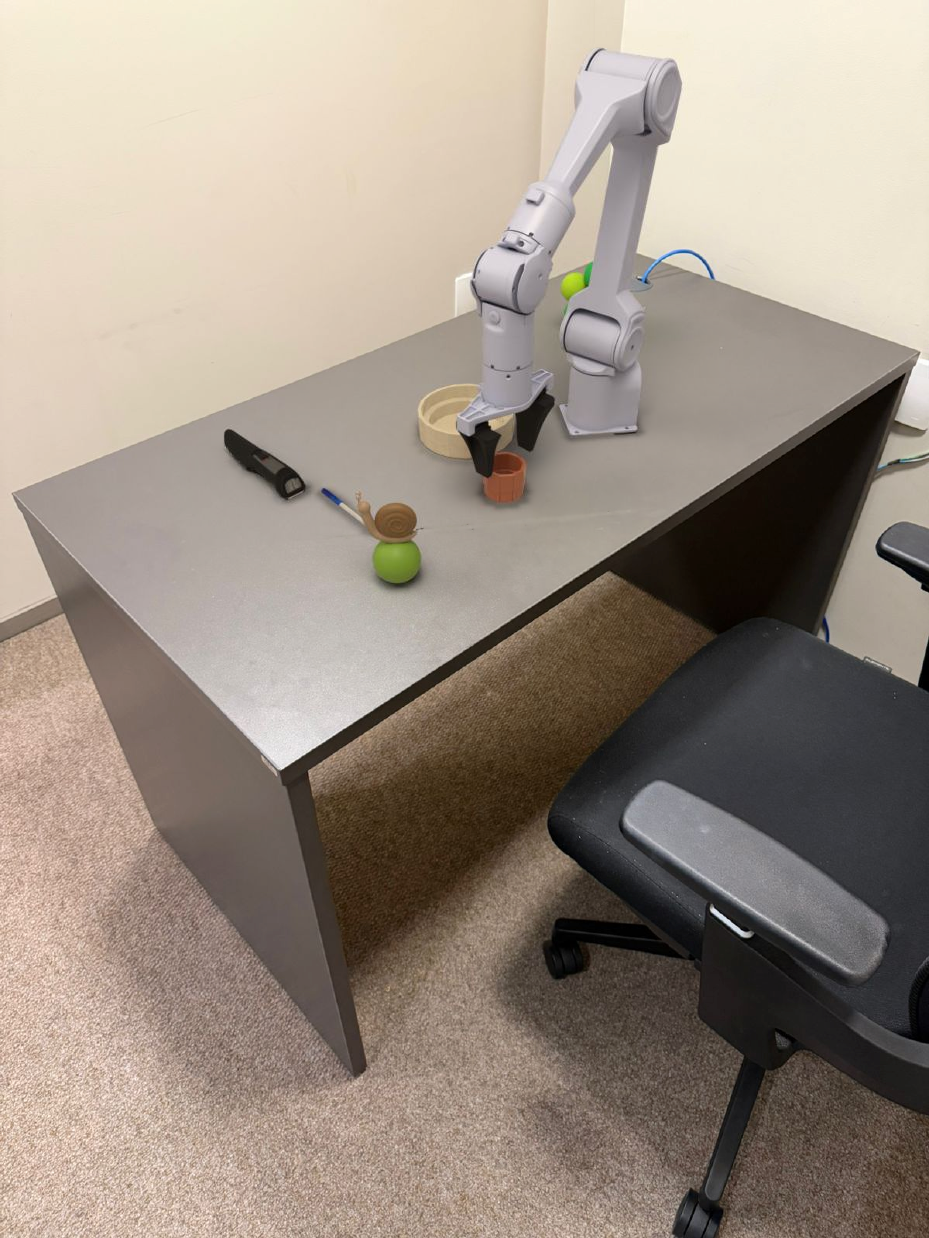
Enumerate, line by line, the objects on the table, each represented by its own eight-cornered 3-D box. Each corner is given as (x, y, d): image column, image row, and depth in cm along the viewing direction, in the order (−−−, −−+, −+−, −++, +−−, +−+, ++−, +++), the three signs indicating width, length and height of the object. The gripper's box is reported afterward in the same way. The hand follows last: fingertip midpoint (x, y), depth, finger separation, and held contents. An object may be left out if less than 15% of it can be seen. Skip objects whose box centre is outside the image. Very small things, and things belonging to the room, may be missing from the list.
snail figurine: (366, 563, 100) (355, 478, 92) (421, 560, 100) (415, 474, 92) (366, 595, 96) (355, 509, 88) (423, 591, 96) (417, 505, 88)
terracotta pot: (513, 477, 112) (514, 447, 109) (531, 500, 108) (533, 470, 105) (476, 486, 110) (476, 457, 107) (493, 510, 107) (494, 480, 104)
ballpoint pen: (319, 494, 110) (318, 488, 109) (324, 491, 110) (324, 485, 109) (370, 532, 104) (370, 525, 103) (376, 528, 104) (375, 522, 104)
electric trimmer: (243, 442, 119) (239, 422, 117) (308, 489, 110) (304, 469, 108) (220, 453, 117) (214, 433, 115) (284, 502, 109) (279, 481, 106)
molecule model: (584, 295, 142) (553, 276, 135) (631, 271, 136) (601, 250, 130) (591, 344, 140) (560, 327, 134) (638, 322, 135) (608, 303, 128)
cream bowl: (505, 406, 124) (505, 380, 121) (521, 457, 115) (522, 430, 112) (415, 414, 123) (414, 387, 120) (424, 465, 114) (422, 438, 111)
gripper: (523, 326, 102) (520, 425, 112) (436, 370, 95) (440, 472, 104) (569, 345, 98) (562, 446, 108) (482, 393, 91) (482, 496, 101)
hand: (504, 460), depth 106 cm, fingers open, 7 cm apart
